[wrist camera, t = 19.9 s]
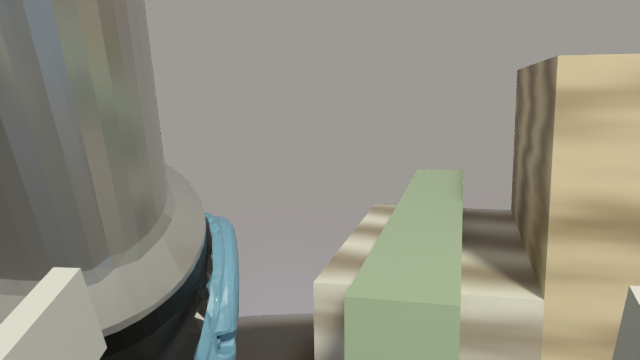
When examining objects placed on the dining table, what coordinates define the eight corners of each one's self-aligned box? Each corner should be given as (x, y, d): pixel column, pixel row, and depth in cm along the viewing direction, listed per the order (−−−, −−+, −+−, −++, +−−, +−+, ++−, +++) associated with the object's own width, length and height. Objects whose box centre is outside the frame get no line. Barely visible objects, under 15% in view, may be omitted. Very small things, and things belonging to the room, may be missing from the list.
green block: (457, 408, 16) (460, 305, 15) (344, 394, 16) (344, 296, 16) (462, 211, 40) (463, 170, 40) (417, 209, 41) (418, 169, 41)
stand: (767, 762, 24) (869, 47, 19) (318, 650, 29) (310, 61, 24) (641, 480, 41) (679, 66, 36) (373, 441, 46) (375, 72, 41)
